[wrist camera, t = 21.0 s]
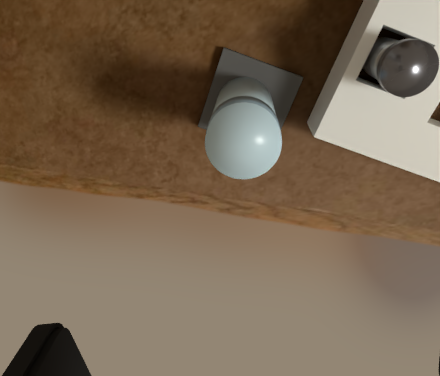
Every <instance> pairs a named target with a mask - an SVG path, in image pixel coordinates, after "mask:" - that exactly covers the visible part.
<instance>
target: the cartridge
mask: <svg viewBox="0 0 440 376" xmlns="http://www.w3.org/2000/svg"><path fill="white" fill-rule="evenodd" d="M205 148H206V153H207V156H208V158H209V160H210V162H211V163H212V164H213V166H214V167H215V168H216V169H217V170H218V171H220V172H221V173H223V174H225V175H226V176H229V177H232V178H236V179H251V178H255V177H258V176H260V175H262V174H264V173H265V172H267V171H268V170H269V169H271V168H272V166H273V165H274V164H275V163H276V161H277V159H278V157H279V155H280V152H281V148H282V137H281V130H280V126H279V122H278V119H277V116H276V113H275V109H274V105H273V101H272V98H271V95H270V92H269V90H268V89H267V87H266V86H265V85H264V84H263V83H261V82H260V81H258V80H256V79H254V78H250V77H239V78H236V79H233V80H231V81H229V82H228V83H227V84H226V85H225V86H224V87H223V88H222V89H221V91H220V93H219V95H218V98H217V101H216V104H215V107H214V110H213V114H212V116H211V118H210V121H209V124H208V127H207V131H206V137H205Z"/></svg>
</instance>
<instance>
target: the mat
mask: <svg viewBox="0 0 440 376" xmlns="http://www.w3.org/2000/svg"><path fill="white" fill-rule="evenodd" d="M239 77H250V78H254V79H256V80H258V81H260V82H261V83H263V84H264V85H265V86H266V87H267V89H268V90H269V92H270V95H271V98H272V101H273V105H274V109H275V113H276V116H277V119H278V122H279V126H280V130H281V128H282V126H283V123H284V121H285V119H286V117H287V114H288V112H289V110H290V107H291V105H292V103H293V101H294V98H295V96H296V94H297V91H298V89H299V87H300V85H301V82H302V80H303V77H302V76H300V75H297V74H294V73H292V72H289V71H286V70H284V69H281V68H278V67H276V66H273V65H270V64H268V63H265V62H262V61H260V60H257V59H254V58H252V57H249V56H246V55H244V54H241V53H238V52H236V51H233V50H230V49H228V48H225V47H224V49H223V52H222V55H221V58H220V61H219V64H218V67H217V70H216V73H215V76H214V79H213V82H212V85H211V88H210V91H209V94H208V97H207V100H206V103H205V106H204V109H203V112H202V115H201V118H200V121H199V124H198V127H200V128H203V129H206V130H207V127H208V124H209V121H210V118H211V116H212V114H213V110H214V107H215V104H216V101H217V98H218V95H219V93H220V91H221V89H222V88H223V87H224V86H225V85H226V84H227V83H228V82H229V81H231V80H233V79H236V78H239Z"/></svg>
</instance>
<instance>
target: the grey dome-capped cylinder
mask: <svg viewBox="0 0 440 376" xmlns="http://www.w3.org/2000/svg"><path fill="white" fill-rule="evenodd" d="M363 69H364V71H365V72H366V73H367V74H369V75H370V76H372V77H374V78H375V79H377V80H378V82H379V83H380V85H381V86H382V88H384V89H385V90H386V91H388V92H389V93H391V94H393V95H395V96H398V97H411V96H414V95H417V94H419V93H421V92H423V91H424V90H425V89H427V88H428V87H429V86H430V85H431V83H432V82H433V81H434V79H435V77H436V75H437V73H438V69H439V57H438V54H437V52H436V50H435V49H434V47H433V46H432V45H430V44H429V43H427V42H425V41H421V40H417V39H403V40H400V41H399V40H395V39H391V38H387V37H382V38H377V39H376V41H375V43H374V45H373V47H372V49H371V51H370V53H369V55H368V57H367V59H366V61H365V63H364V65H363Z"/></svg>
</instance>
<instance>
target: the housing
mask: <svg viewBox="0 0 440 376" xmlns="http://www.w3.org/2000/svg"><path fill="white" fill-rule="evenodd" d="M382 28H384V29H386V30H389V31H391V32H394V33H396V34H399V35H401V36H404V37H406V38H409V39H417V40H421V41H425V42H427V43H429V44H430V45H432V46H433V47H434V49H435V50H436V52H437V54H438V57H439V69H438V73H437V75H436V77H435V79H434V81H433V82H432V83H431V85H430V86H429V87H428V88H427V89H425V90H424V91H423V92H421V93H419V94H417V95H414V96H411V97H398V96H395V95H393V94H391V93H389V92H388V91H386V90H385V89H384V88H382V86H380V85H377V84H375V83H372V82H369V81H367V80H364V79H362V78H359V77H358V75H359V73H360V71H361V69H362V67H363V65H364V63H365V61H366V59H367V57H368V55H369V53H370V51H371V49H372V47H373V45H374V43H375V41H376V39H377V37H378V35H379V33H380V31H381V29H382ZM439 102H440V0H363V3H362V5H361V7H360V9H359V11H358V13H357V15H356V18H355V20H354V22H353V24H352V26H351V28H350V31H349V33H348V35H347V37H346V39H345V41H344V43H343V46H342V48H341V50H340V52H339V54H338V56H337V58H336V61H335V63H334V65H333V67H332V69H331V71H330V74H329V76H328V78H327V80H326V82H325V84H324V86H323V89H322V91H321V93H320V95H319V97H318V99H317V102H316V104H315V106H314V108H313V110H312V112H311V114H310V117H309V119H308V121H307V124H308V126H309V128H310V130H311V132H312V134H313V136H314V137H315V138H318V139H321V140H324V141H327V142H329V143H332V144H335V145H338V146H340V147H343V148H346V149H349V150H351V151H354V152H357V153H360V154H363V155H365V156H368V157H371V158H374V159H376V160H379V161H382V162H385V163H388V164H390V165H393V166H396V167H399V168H401V169H404V170H407V171H410V172H413V173H415V174H418V175H421V176H424V177H426V178H429V179H432V180H435V181H438V182H440V121H437V120H434V119H432V118H430V117H431V115H432V114H433V112H434V110H435V109H436V107H437V105H438V104H439Z"/></svg>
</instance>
